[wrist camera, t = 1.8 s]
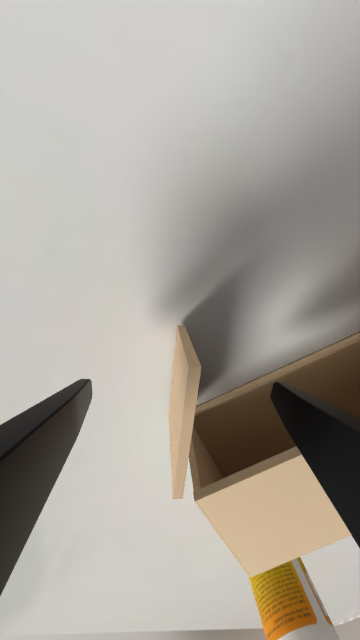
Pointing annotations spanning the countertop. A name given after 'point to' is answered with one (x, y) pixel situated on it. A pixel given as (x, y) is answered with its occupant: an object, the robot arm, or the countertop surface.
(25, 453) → the robot arm
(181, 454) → the flap
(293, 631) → the supplement bottle
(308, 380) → the carton
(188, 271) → the countertop surface
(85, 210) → the countertop surface
